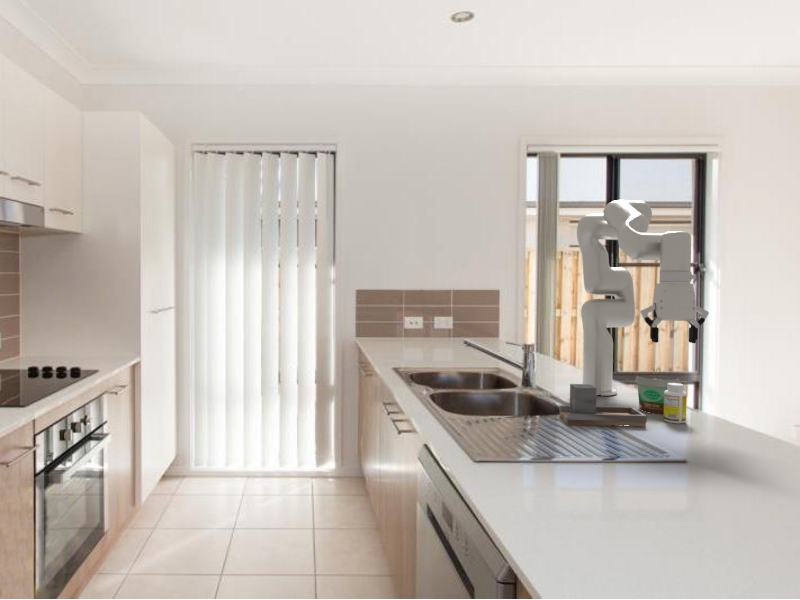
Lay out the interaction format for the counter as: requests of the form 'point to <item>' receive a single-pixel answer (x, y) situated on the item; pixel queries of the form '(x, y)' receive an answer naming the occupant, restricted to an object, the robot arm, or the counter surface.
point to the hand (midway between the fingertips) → (673, 342)
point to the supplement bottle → (675, 403)
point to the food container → (652, 393)
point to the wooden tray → (596, 410)
